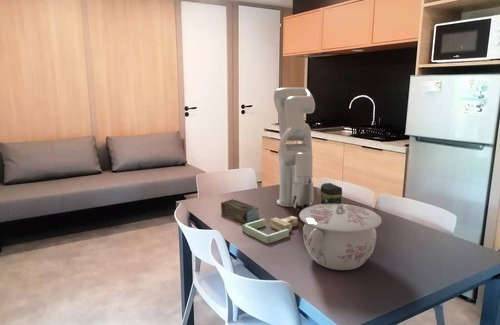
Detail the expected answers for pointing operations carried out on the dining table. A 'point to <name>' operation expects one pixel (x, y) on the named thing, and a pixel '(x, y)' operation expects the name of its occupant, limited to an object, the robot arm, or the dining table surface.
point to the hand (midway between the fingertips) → (303, 218)
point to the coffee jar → (330, 194)
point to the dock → (251, 230)
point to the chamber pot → (339, 234)
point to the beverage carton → (240, 211)
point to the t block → (284, 223)
